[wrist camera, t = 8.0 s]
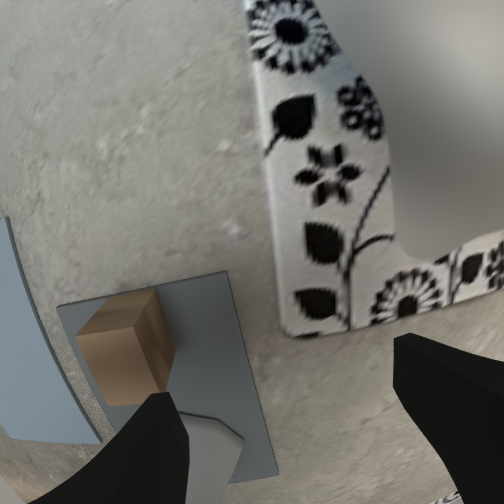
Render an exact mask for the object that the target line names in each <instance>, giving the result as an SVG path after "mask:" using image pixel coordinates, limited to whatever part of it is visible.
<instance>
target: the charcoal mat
mask: <svg viewBox="0 0 504 504" xmlns="http://www.w3.org/2000/svg"><path fill="white" fill-rule="evenodd" d="M56 310H57V313H58V315H59V318H60V320H61V323H62V325H63V328H64V330H65V333H66V335H67V338H68V340H69V342H70V345H71V347H72V349H73V351H74V354H75V356H76V358H77V360H78V362H79V365H80V367H81V369H82V371H83V373H84V375H85V377H86V379H87V381H88V383H89V385H90V387H91V389H92V391H93V393H94V395H95V397H96V399H97V400H98V402H99V404H100V406H101V408H102V410H103V411H104V413H105V415H106V417H107V418H108V420H109V422H110V424H111V425H112V427H113V429H114V430H115V432H116V434H117V433H118V432H119V431H120V430H121V429H122V427H123V426H124V425H125V424H126V423H127V421H128V420H129V419H130V418H131V417H132V416H133V414H134V413H135V412H136V411H137V409H138V408H139V407H140V406H141V405H142V403H143V402H144V401H145V400H146V399H147V398H148V397H149V395H150V394H153V393H161V392H168V391H169V393H170V395H171V397H172V400H173V402H174V404H175V406H176V409H177V411H178V413H179V414H184V415H189V416H195V417H200V418H206V419H212V420H218V421H219V422H220V423H222V424H223V425H224V426H226V427H227V428H228V429H230V430H231V431H232V432H234V433H235V434H236V435H238V436H239V437H240V438H242V439H243V440H244V441H245V442H244V445H243V448H242V451H241V453H240V456H239V459H238V461H237V464H236V466H235V469H234V472H233V474H232V476H231V478H230V480H229V483H237V482H244V481H250V480H256V479H262V478H267V477H272V476H277V475H279V471H278V468H277V465H276V461H275V457H274V454H273V450H272V447H271V443H270V440H269V436H268V432H267V429H266V425H265V422H264V418H263V414H262V410H261V407H260V403H259V399H258V396H257V392H256V388H255V384H254V380H253V377H252V373H251V369H250V365H249V361H248V357H247V353H246V349H245V346H244V342H243V338H242V334H241V330H240V326H239V322H238V318H237V314H236V310H235V305H234V301H233V297H232V293H231V289H230V285H229V281H228V276H227V272H226V271H221V272H217V273H212V274H207V275H203V276H198V277H194V278H189V279H184V280H180V281H175V282H170V283H166V284H161V285H156V286H151V287H147V288H142V289H137V290H132V291H128V292H123V293H118V294H113V295H108V296H103V297H99V298H94V299H89V300H84V301H79V302H74V303H69V304H64V305H59V306H57V307H56ZM229 483H228V484H229Z"/></svg>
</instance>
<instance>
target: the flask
mask: <svg viewBox="0 0 504 504" xmlns="http://www.w3.org/2000/svg"><path fill="white" fill-rule="evenodd" d="M179 415H180V417H181V420H182V422H183V424H184V426H185V428H186V430H187V432H188V435H189V447H190V466H189V475H188V484H187V493H186V502H185V504H220V501H221V499H222V496H223V494H224V491H225V489H226V487H227V485H228V483H229V480H230V478H231V476H232V474H233V472H234V469H235V466H236V464H237V461H238V459H239V456H240V453H241V451H242V448H243V445H244V442H245V441H244V440H243V439H242V438H240V437H239V436H238V435H236V434H235V433H234V432H232V431H231V430H230V429H228V428H227V427H226V426H224V425H223V424H222V423H220V422H219V421H218V420H212V419H206V418H200V417H195V416H189V415H184V414H179Z"/></svg>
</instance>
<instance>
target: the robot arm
mask: <svg viewBox="0 0 504 504" xmlns="http://www.w3.org/2000/svg"><path fill="white" fill-rule="evenodd" d="M393 388H394V390H395V392H396V394H397V396H398V398H399V400H400V401H401V403H402V405H403V407H404V409H405V410H406V412H407V413H408V414H409V416H410V417H411V418H412V420H413V421H414V422H415V424H416V425H417V426H418V428H419V429H420V430H421V432H422V433H423V434H424V436H425V437H426V438H427V440H428V441H429V442H430V444H431V445H432V446H433V448H434V449H435V450H436V452H437V453H438V455H439V456H440V458H441V459H442V461H443V463H444V464H445V466H446V468H447V470H448V472H449V474H450V476H451V477H452V479H453V481H454V483H455V485H456V487H457V490H458V492H459V494H460V496H461V498H462V500H463V503H464V504H504V362H503V361H498V360H493V359H490V358H486V357H482V356H478V355H475V354H472V353H468V352H465V351H462V350H459V349H456V348H453V347H450V346H448V345H445V344H442V343H439V342H436V341H434V340H431V339H428V338H425V337H422V336H419V335H416V334H413V333H408V334H405V335H402V336H399V337H396V338H394V366H393ZM189 466H190V447H189V435H188V432H187V430H186V428H185V426H184V424H183V422H182V420H181V417H180V415H179V413H178V411H177V409H176V406H175V404H174V402H173V400H172V397H171V395H170V393H169V391H168V392H161V393H153V394H150V395H149V397H148V398H147V399H146V400H145V401H144V402H143V403H142V405H141V406H140V407H139V408H138V409H137V411H136V412H135V413H134V414H133V416H132V417H131V418H130V419H129V420H128V421H127V423H126V424H125V425H124V426H123V427H122V429H121V430H120V431H119V432H118V433H117V434H116V435H115V436H114V438H113V439H112V440H111V441H110V442H109V443H108V444H107V445H106V446H105V447H104V448H103V449H102V450H101V451H100V452H99V453H98V454H97V455H96V456H95V457H94V458H93V459H92V460H91V461H90V462H89V463H88V464H86V465H85V466H84V467H83V468H82V469H80V470H79V471H78V472H77V473H76V474H74V475H73V476H72V477H70V478H69V479H68V480H66V481H65V482H63V483H62V484H60V485H59V486H57V487H56V488H54V489H53V490H51V491H50V492H48V493H47V494H45V495H43V496H41V497H39V498H38V499H36V500H34V501H32V502H30V503H28V504H185V502H186V493H187V484H188V475H189Z"/></svg>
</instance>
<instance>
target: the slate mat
mask: <svg viewBox="0 0 504 504" xmlns="http://www.w3.org/2000/svg"><path fill="white" fill-rule="evenodd" d="M0 424H1V425H2V427H3V428H4V430H5V431H6V433H7V434H8V436H9V437H10V438H12V439H20V440H29V441H40V442H53V443H70V444H101V443H102V439H101V438H100V436H99V435H98V433H97V432H96V430H95V428H94V427H93V425H92V423H91V422H90V420H89V418H88V417H87V415H86V413H85V412H84V410H83V408H82V406H81V405H80V403H79V401H78V399H77V397H76V396H75V394H74V392H73V390H72V388H71V386H70V384H69V382H68V380H67V378H66V376H65V374H64V372H63V370H62V368H61V366H60V364H59V362H58V360H57V358H56V356H55V354H54V351H53V349H52V347H51V345H50V343H49V340H48V338H47V336H46V333H45V331H44V328H43V326H42V323H41V321H40V318H39V316H38V313H37V311H36V308H35V305H34V303H33V300H32V297H31V294H30V292H29V289H28V286H27V283H26V280H25V277H24V273H23V270H22V267H21V264H20V260H19V257H18V253H17V250H16V246H15V242H14V239H13V235H12V231H11V227H10V222H9V218H8V217H4V218H2V219H0Z"/></svg>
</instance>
